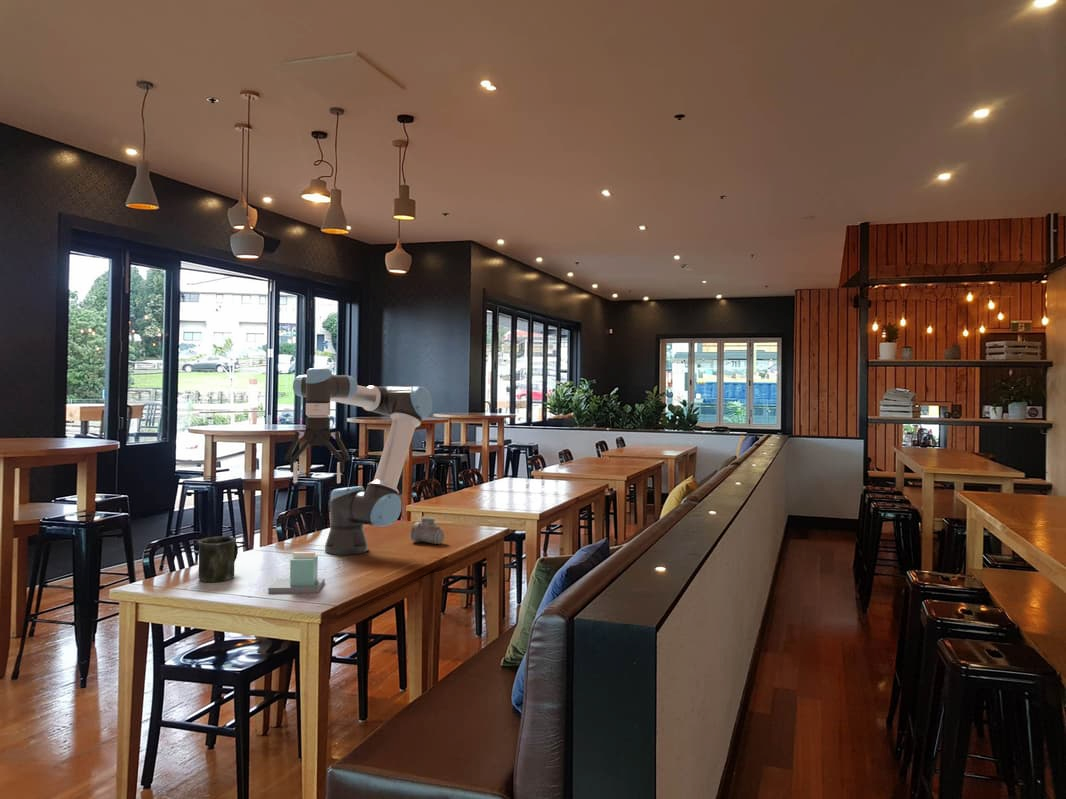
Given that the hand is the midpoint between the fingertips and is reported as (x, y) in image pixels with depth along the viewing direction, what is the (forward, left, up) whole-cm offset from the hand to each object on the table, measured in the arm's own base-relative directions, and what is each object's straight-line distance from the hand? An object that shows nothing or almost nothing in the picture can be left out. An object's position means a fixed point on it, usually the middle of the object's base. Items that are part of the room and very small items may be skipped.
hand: (317, 482), depth 247 cm
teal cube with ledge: (+19, 0, -27) cm, 33 cm away
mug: (+6, -28, -29) cm, 41 cm away
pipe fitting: (-45, +34, -29) cm, 63 cm away
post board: (+20, -2, -29) cm, 35 cm away
